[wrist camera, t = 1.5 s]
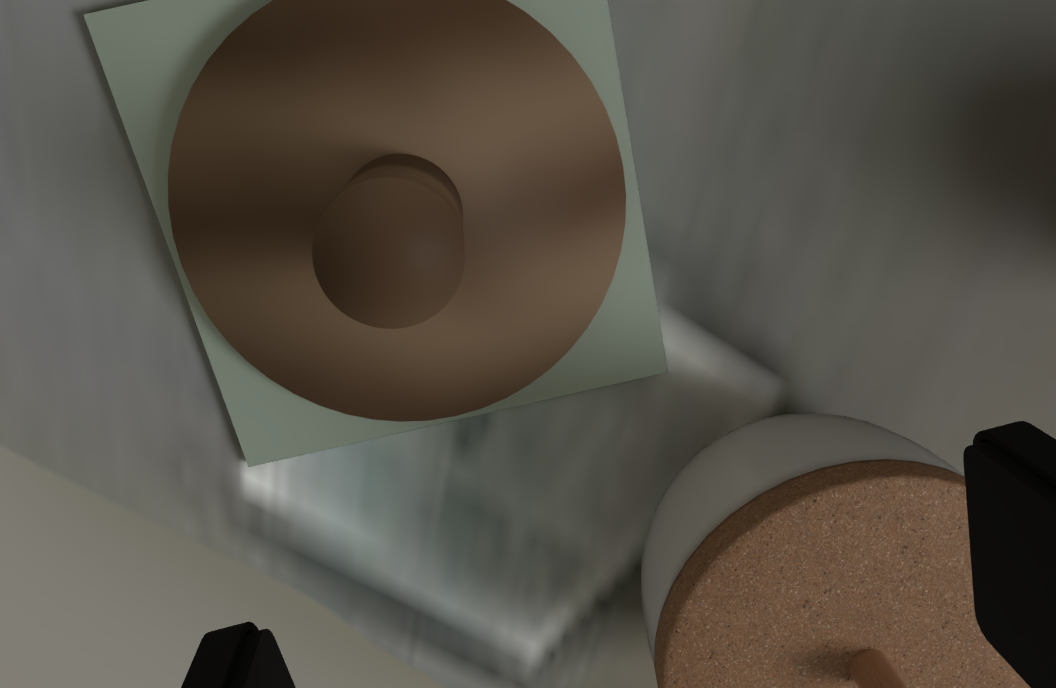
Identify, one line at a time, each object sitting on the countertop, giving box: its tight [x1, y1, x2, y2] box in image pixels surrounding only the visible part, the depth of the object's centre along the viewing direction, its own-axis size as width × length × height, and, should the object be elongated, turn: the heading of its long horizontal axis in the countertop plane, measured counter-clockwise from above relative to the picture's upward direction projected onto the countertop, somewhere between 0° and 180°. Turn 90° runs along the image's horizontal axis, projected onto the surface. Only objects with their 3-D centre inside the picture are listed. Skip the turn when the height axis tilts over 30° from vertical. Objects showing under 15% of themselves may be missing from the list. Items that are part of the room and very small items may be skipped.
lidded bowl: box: [641, 413, 1030, 688], centre depth 29 cm, size 13×13×11 cm
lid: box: [168, 0, 626, 422], centre depth 25 cm, size 15×15×7 cm
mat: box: [84, 0, 668, 467], centre depth 29 cm, size 16×16×1 cm
